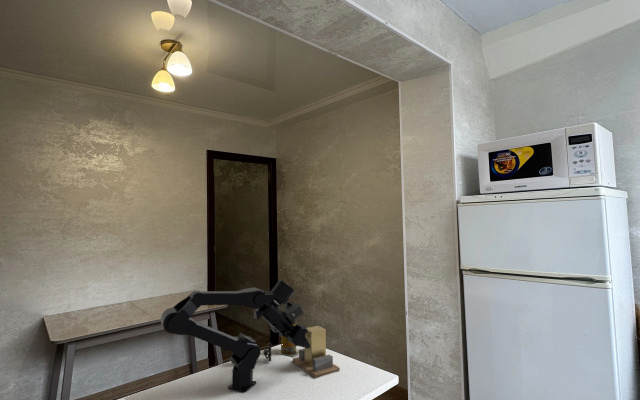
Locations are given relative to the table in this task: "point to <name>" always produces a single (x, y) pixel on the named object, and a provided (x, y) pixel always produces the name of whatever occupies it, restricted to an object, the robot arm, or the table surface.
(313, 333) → the brass block
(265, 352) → the valve
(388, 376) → the table surface
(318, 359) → the vise
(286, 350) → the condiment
